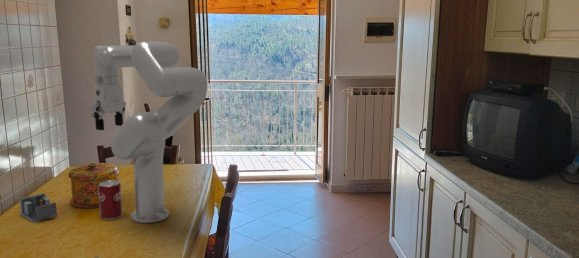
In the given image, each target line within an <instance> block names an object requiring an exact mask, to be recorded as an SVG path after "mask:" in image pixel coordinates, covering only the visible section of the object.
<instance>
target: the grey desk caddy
mask: <svg viewBox="0 0 579 258" xmlns="http://www.w3.org/2000/svg"><path fill="white" fill-rule="evenodd" d="M41 199H42V200H43V205H46V204H50V200H51V199H50V198H49V197H48V196H47V194H46V193H39V194H38V193H36V194H33V195H29V196H25V197H20V198H18V200H19V210H20V216H21V217H23V218H25V219H26V220H28V221H29V222H31V223H36V222H40V221H43V220H44V221H45V220H47V219H51V218H54V217H58V213H57V214H56V215H52V216H49V217H45V218H41V219H37V214H36V207H38V206H40V205H39V200H41Z"/></svg>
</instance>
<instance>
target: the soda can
mask: <svg viewBox="0 0 579 258" xmlns="http://www.w3.org/2000/svg"><path fill="white" fill-rule="evenodd" d="M97 191H98V208H99V210H98V211H99V217H100V219H102V220H103V221H104V220H105V221H112V220H117V219H118V218H121V217H122V215H123V205H122V203H123V201H122V184H121V182H120V181H118V180H105V181H101V182H99V184H98V185H97Z"/></svg>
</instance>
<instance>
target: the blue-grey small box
mask: <svg viewBox="0 0 579 258" xmlns="http://www.w3.org/2000/svg"><path fill="white" fill-rule="evenodd" d="M39 205H40V206H38V207H36V214H37V219H41V218H45V217H49V216H52V215H56V214H57V215H58V211H57V202H55V201H54V202H51V203H50V204H46V205H43V200H42V199H41V200H39Z"/></svg>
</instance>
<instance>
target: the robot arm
mask: <svg viewBox="0 0 579 258" xmlns="http://www.w3.org/2000/svg"><path fill="white" fill-rule="evenodd" d="M93 59H94V73H95V75H94V76H95V78H94V82H95V85H94V93H93V94H94V95H93V96H94V97H93V100H94V101H93V104H92V105H91V106H90V107H89V109H88V110H89V112H90V113H91V116H92V117H93V119H94V121H95V130H98V131H105V121H104V118H103V117H104V115H105V114H111V113H115V114H114V125H115V126H119V128H118V129H117V130H116V132H115V133H114V135H112V139H111V144H110V147H111V152H112V154H113V155H114V157H115V158H116V159H117V158H118V159H119V160H122V161H123V160H125V161H126V160H132V159H136V161H135V162H134V166H133V179H134V182H133V183H134V200H135V210H134V211H133V212H132V213H131V214H130V215H131V216H130V217H131V220H132V221H134V222H136V223H141V224H148V223H156V222H162V221H164V220H166V219H167V218H168V217H169V216H170V211H169V210H168V209H167V208H166V204H165V190H164V154H165V147H166V140H167V139H169V138H170V137H171V136H173V135H174V133H175V132H176V131H177V130H178V129H180V128H181V126H183V124H185V122H186V121H187V120H188V119H189V118H191V116H192V115H194V114H195V113H196V112H197V111H198V110H199V109H200V108H201V106H202V105H203V104H204V101H205V99H206V97H207V93H208V80H207V77H206V75H205V73H204V72H203V71H202V70H200V69H199V68H195V67H190V66H178V67H177V66H176V65H178V62H179V60H180V51H179V49H178V48H177V47H176V45H174V44H173V43H170V42H167V41H147V40H146V41H139V42H137V43H136V44H134V45H126V44H125V45H124V44H123V45H122V44H121V45H97V46H95V47H94V48H93ZM175 66H176V67H175ZM118 68H119V69H120V68H135V70H136V71H137V73H138V74H139V76H140V77H141V79H142V80H143V82H144V83H145V84H146V86H147V87H148V89H149V90H150V92H152V93H153V95H155V96H157V97H159V98H169V97H170V98H169V99H167V100H166V101H165V102H164V103H163V105H161V106H160V108H158V109H157V110H153V111H145V112H139V113H135V114H131V116H129V117H128V118H126V120H125V121H124V118H123V116H124V114H125V110H126V107H127V102H126V101H124V97H123V91H122V88H121V84H120V83H119V70H118Z"/></svg>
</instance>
